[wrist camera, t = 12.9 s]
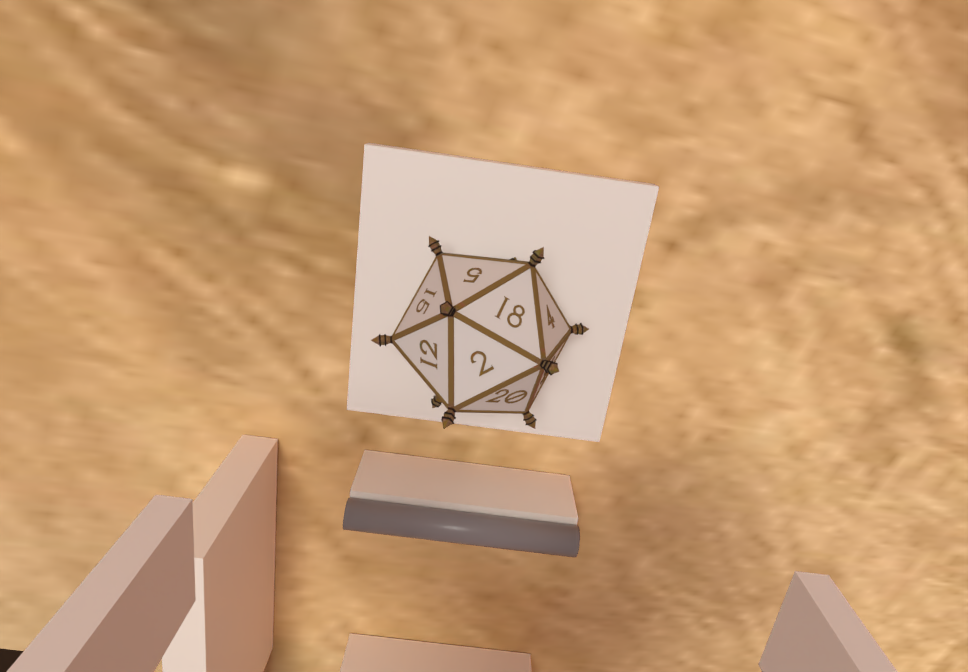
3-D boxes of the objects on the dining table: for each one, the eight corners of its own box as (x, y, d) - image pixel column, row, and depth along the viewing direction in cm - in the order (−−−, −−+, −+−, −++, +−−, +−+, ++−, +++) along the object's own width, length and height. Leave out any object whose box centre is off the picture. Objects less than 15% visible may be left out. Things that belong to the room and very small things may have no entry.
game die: (517, 272, 35) (662, 322, 28) (444, 406, 35) (570, 493, 27) (401, 185, 29) (545, 218, 22) (311, 346, 29) (426, 436, 21)
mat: (596, 432, 36) (599, 441, 35) (350, 401, 35) (346, 409, 34) (654, 183, 31) (659, 186, 30) (368, 142, 30) (364, 144, 29)
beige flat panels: (525, 675, 42) (535, 839, 33) (242, 643, 42) (170, 802, 32) (569, 475, 37) (596, 604, 27) (242, 434, 36) (155, 553, 27)
